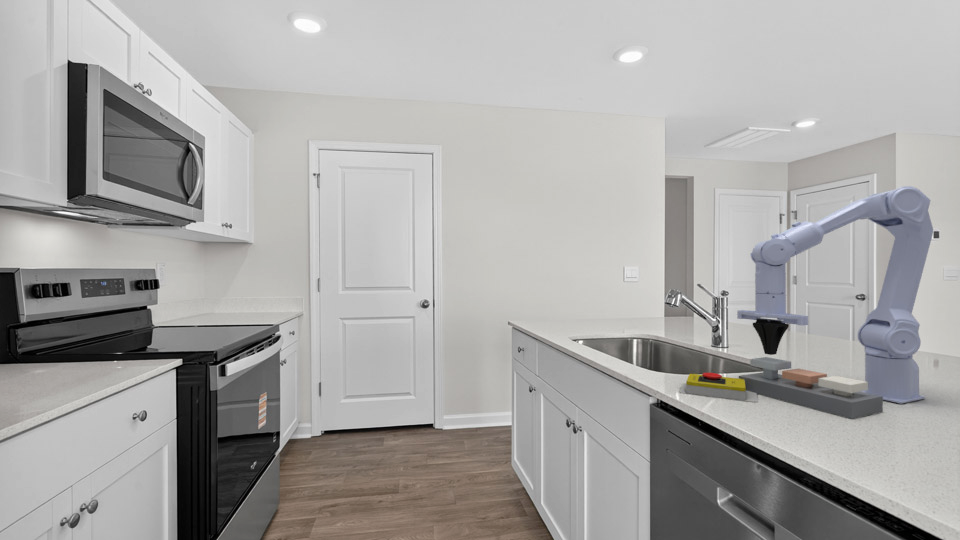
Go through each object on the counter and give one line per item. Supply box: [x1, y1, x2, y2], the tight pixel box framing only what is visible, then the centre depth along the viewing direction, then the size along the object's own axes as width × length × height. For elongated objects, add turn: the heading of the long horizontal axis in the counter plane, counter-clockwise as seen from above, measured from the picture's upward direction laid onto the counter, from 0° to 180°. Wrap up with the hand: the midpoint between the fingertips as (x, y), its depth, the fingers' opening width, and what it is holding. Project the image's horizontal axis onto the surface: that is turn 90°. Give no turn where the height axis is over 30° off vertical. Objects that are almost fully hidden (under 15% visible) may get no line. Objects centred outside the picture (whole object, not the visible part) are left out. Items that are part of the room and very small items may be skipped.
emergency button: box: [678, 372, 759, 404], centre depth 97 cm, size 9×4×15 cm
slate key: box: [750, 356, 792, 380], centre depth 98 cm, size 6×6×4 cm
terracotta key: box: [781, 368, 828, 387], centre depth 91 cm, size 6×6×4 cm
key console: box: [738, 372, 884, 420], centre depth 91 cm, size 10×22×3 cm, turn 23°
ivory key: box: [818, 375, 868, 396], centre depth 85 cm, size 6×6×4 cm
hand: (770, 354), depth 98 cm, fingers closed
